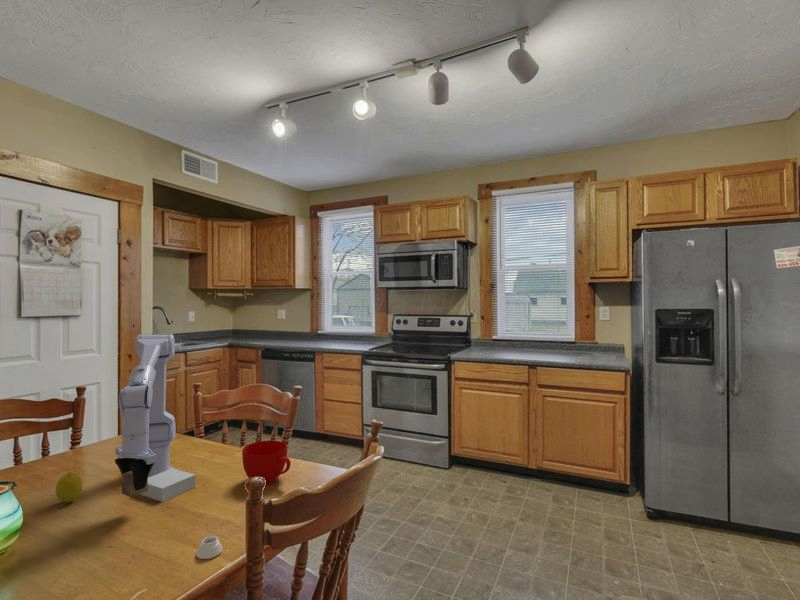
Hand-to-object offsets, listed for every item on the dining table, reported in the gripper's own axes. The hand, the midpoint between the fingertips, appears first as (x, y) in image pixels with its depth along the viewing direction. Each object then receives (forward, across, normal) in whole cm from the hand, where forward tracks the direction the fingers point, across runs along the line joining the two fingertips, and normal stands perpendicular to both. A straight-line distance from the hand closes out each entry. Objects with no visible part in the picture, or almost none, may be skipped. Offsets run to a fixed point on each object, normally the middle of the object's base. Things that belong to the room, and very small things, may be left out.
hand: (134, 486), depth 105 cm
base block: (+7, -5, +12) cm, 15 cm away
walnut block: (+1, 0, 0) cm, 1 cm away
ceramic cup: (+7, +16, +30) cm, 35 cm away
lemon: (+7, -21, -5) cm, 23 cm away
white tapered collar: (+7, +31, -2) cm, 32 cm away
